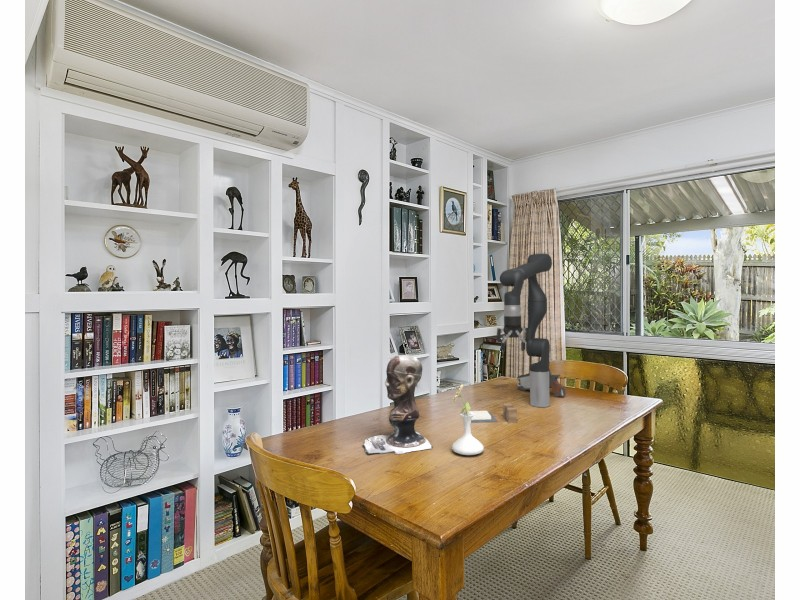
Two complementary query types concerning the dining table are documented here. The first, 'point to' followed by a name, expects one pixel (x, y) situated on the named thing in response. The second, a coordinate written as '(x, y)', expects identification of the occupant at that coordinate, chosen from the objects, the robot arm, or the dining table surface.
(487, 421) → the mat
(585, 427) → the dining table surface
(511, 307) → the robot arm
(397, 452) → the head bust
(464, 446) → the flower in vase
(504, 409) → the brown rectangular block
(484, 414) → the tile
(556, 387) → the gun
